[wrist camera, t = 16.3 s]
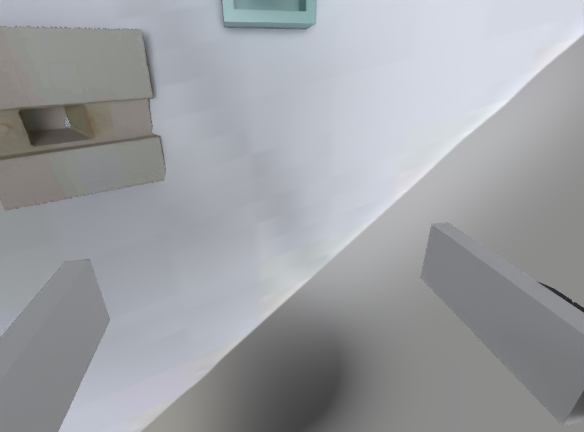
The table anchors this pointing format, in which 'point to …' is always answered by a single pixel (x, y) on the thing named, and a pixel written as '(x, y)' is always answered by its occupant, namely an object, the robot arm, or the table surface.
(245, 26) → the tray
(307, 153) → the table surface
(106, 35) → the wall
